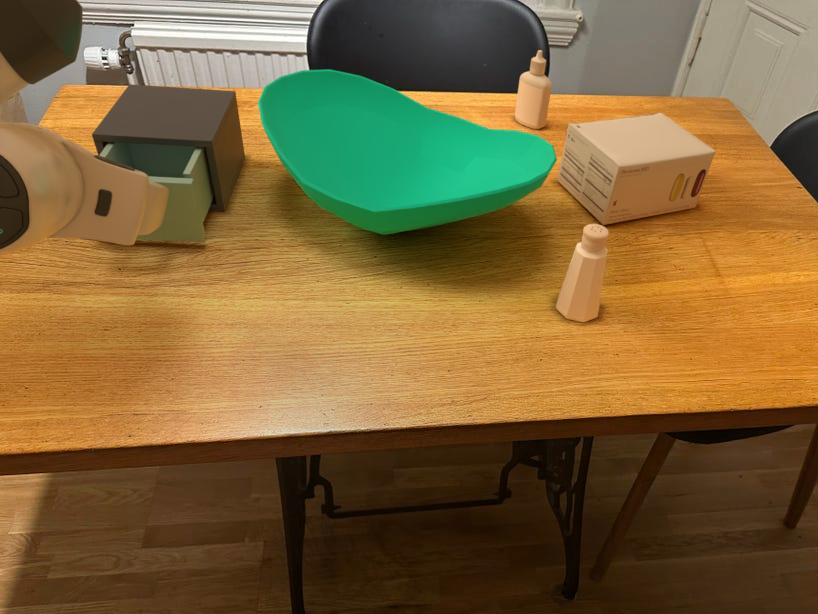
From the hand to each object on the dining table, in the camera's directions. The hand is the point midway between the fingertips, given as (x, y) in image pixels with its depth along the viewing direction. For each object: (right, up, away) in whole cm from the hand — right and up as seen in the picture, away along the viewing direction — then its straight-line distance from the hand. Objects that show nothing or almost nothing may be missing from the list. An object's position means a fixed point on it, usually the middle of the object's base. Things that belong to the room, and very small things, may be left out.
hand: (60, 170), depth 68 cm
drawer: (+1, -1, +18) cm, 18 cm away
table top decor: (+31, +1, +26) cm, 40 cm away
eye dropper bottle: (+50, +22, +51) cm, 74 cm away
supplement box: (+63, +6, +35) cm, 73 cm away
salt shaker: (+53, -13, +14) cm, 56 cm away
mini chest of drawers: (+1, +6, +27) cm, 27 cm away
